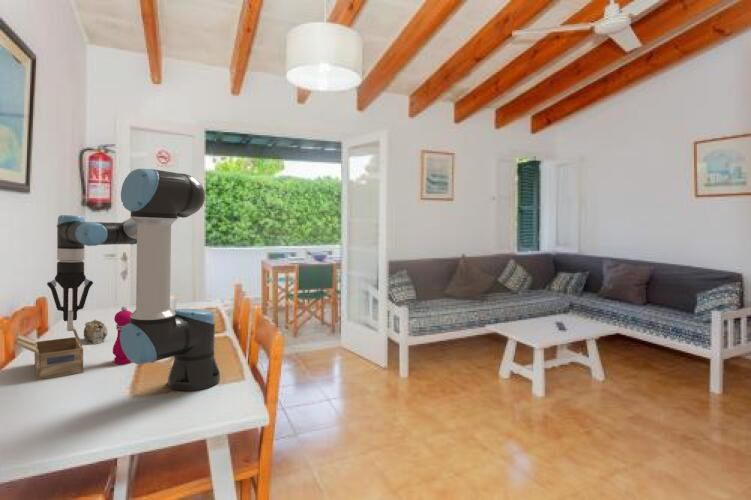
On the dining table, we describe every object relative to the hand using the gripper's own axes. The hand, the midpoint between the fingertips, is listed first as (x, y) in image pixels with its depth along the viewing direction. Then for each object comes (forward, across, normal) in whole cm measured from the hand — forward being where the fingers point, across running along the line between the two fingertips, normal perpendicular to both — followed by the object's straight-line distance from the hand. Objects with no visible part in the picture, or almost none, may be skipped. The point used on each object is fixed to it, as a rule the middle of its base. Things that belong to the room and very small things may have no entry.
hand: (69, 330), depth 146 cm
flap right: (+1, -1, 0) cm, 2 cm away
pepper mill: (+13, -16, +4) cm, 21 cm away
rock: (+13, -12, -33) cm, 37 cm away
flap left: (+3, +11, 0) cm, 12 cm away
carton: (+13, +3, 0) cm, 13 cm away
